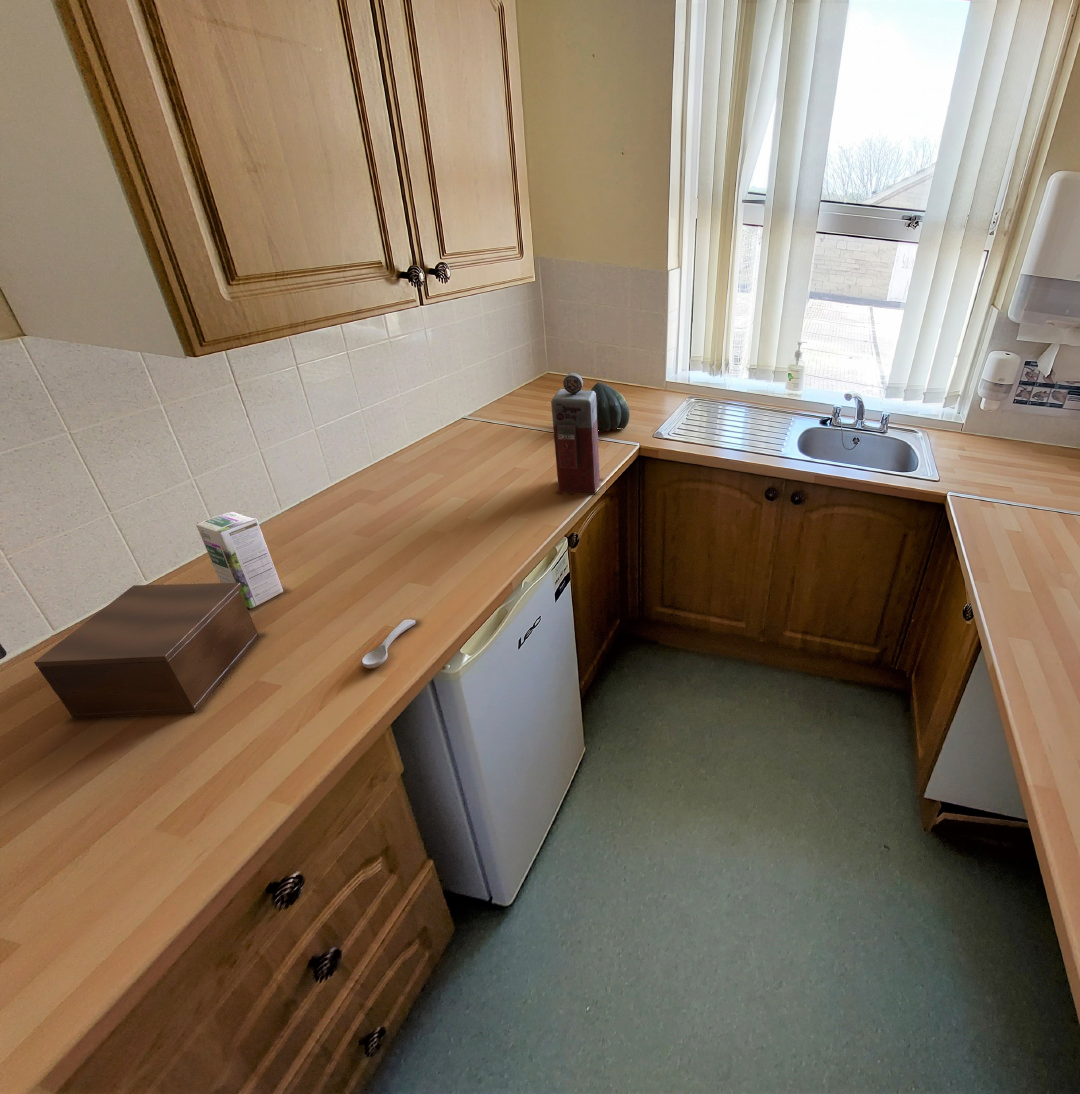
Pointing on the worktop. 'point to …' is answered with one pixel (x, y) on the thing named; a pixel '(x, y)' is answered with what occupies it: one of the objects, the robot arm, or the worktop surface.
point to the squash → (610, 408)
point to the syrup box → (241, 556)
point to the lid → (141, 625)
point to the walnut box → (159, 672)
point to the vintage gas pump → (576, 437)
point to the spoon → (385, 646)
